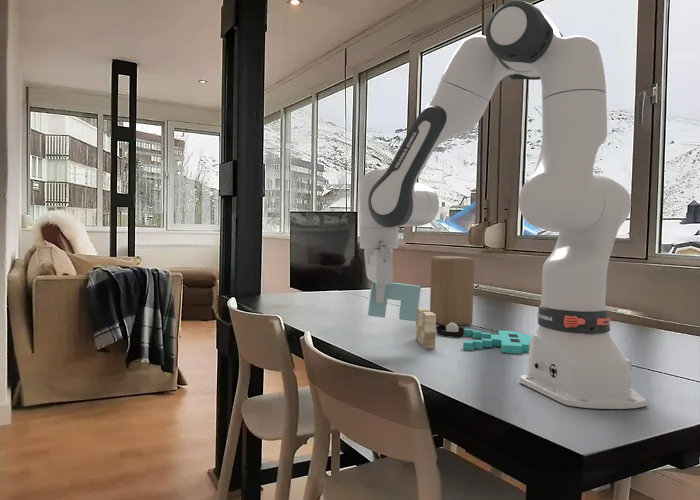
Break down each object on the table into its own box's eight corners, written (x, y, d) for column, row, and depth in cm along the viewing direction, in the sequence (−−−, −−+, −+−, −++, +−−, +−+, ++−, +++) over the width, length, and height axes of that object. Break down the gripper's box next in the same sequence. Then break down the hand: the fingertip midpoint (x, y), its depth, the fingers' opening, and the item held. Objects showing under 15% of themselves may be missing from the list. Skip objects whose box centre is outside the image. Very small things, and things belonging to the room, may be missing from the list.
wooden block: (428, 320, 176) (430, 256, 176) (457, 320, 179) (459, 256, 179) (443, 326, 167) (445, 257, 166) (473, 325, 170) (475, 258, 169)
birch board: (435, 348, 135) (436, 314, 135) (425, 348, 135) (425, 314, 135) (424, 338, 147) (425, 307, 147) (415, 338, 147) (416, 307, 147)
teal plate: (416, 321, 131) (420, 286, 131) (368, 315, 130) (373, 280, 130) (414, 320, 133) (418, 285, 133) (367, 314, 132) (372, 280, 132)
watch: (466, 336, 153) (467, 323, 153) (460, 339, 149) (460, 325, 149) (440, 333, 157) (440, 320, 157) (432, 335, 153) (433, 322, 153)
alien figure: (463, 351, 135) (552, 357, 131) (463, 342, 135) (552, 348, 131) (464, 336, 154) (541, 341, 150) (464, 328, 154) (542, 333, 150)
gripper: (399, 241, 121) (399, 306, 121) (386, 241, 141) (386, 297, 142) (370, 241, 121) (369, 306, 121) (361, 241, 141) (360, 297, 141)
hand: (378, 301), depth 131 cm, fingers closed on teal plate, 2 cm apart
